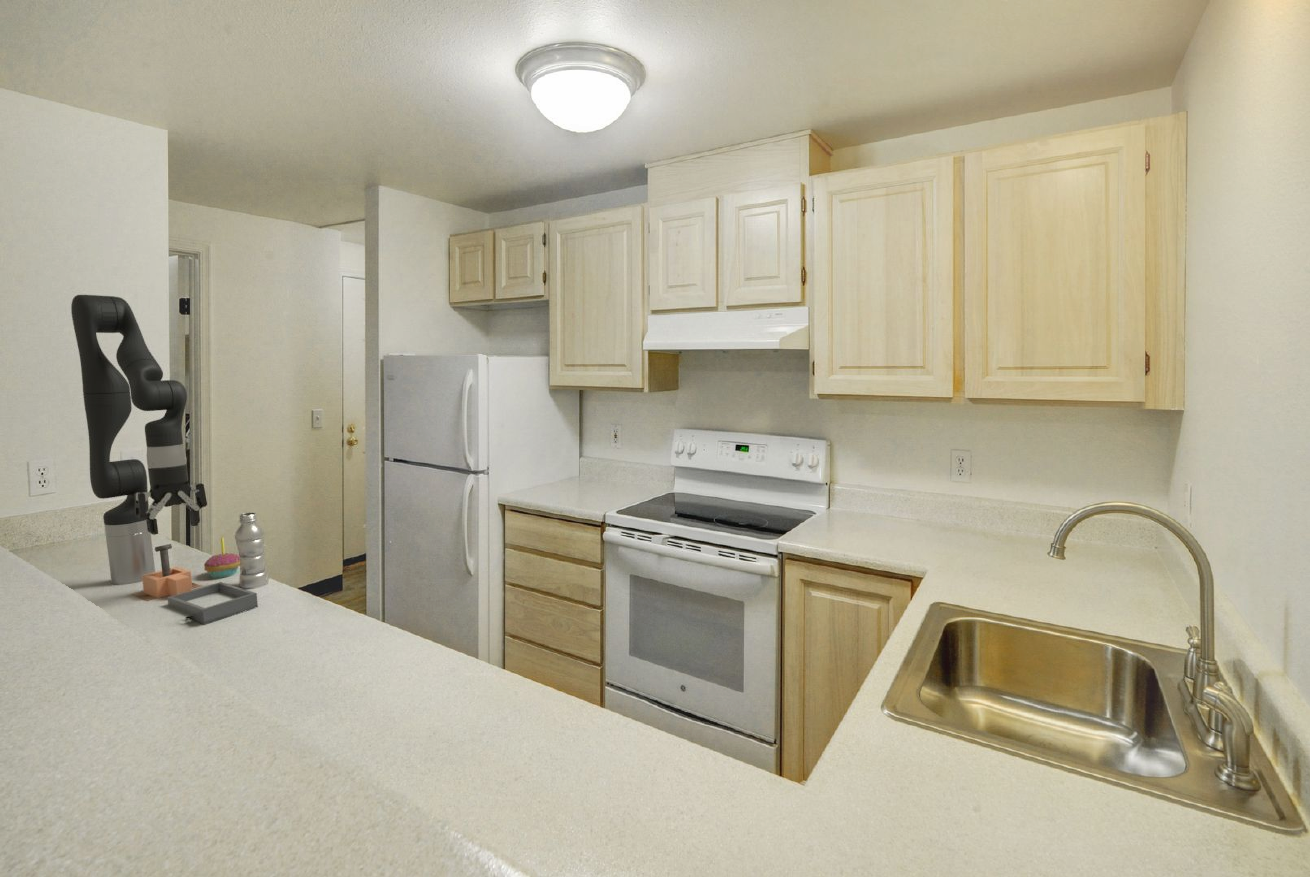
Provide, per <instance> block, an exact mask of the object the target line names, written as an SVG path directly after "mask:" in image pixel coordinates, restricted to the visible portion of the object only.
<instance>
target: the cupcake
mask: <svg viewBox="0 0 1310 877" xmlns="http://www.w3.org/2000/svg"><path fill="white" fill-rule="evenodd" d="M220 543H221V544H220V546H221V547H220V548H221V553H219V554H215V555H213V556H211V557H209V558H208V559H207V560H206V561H205V562H204V564H203V566H204V571H205V572H207V573H208V574H209V575H210V576H211V578H214V579H219V578H220V579H222V578H227V577H231V576H233V575H236V573H237V571H238V568H239V567H240V556H239V555H238V554H235V553H226V550H225V537H224V536H223V534H222V535H221V537H220Z"/></svg>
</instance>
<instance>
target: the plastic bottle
mask: <svg viewBox="0 0 1310 877" xmlns="http://www.w3.org/2000/svg"><path fill="white" fill-rule="evenodd" d="M238 517H239V523H240V525H239V526H238V528H237V530H236V531H235V534H234V538H235V539H234V540H235V543H236V547H237V550H238V556H239V557H240V566H239V576H238V577H239V579H238V583H239V588H242V589H245V590H252V589H258V588H261V587H265V586H267V585H269V579H270V578H269V574H268V571H267V568H266V563H265V556H264V542H265V532H264V529H263V528H262V527H261V526H260V525H259V524H258V523H257V521H258V518H257V514H256V512H244V513H240V514H239V516H238ZM266 578H267V579H266Z"/></svg>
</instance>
